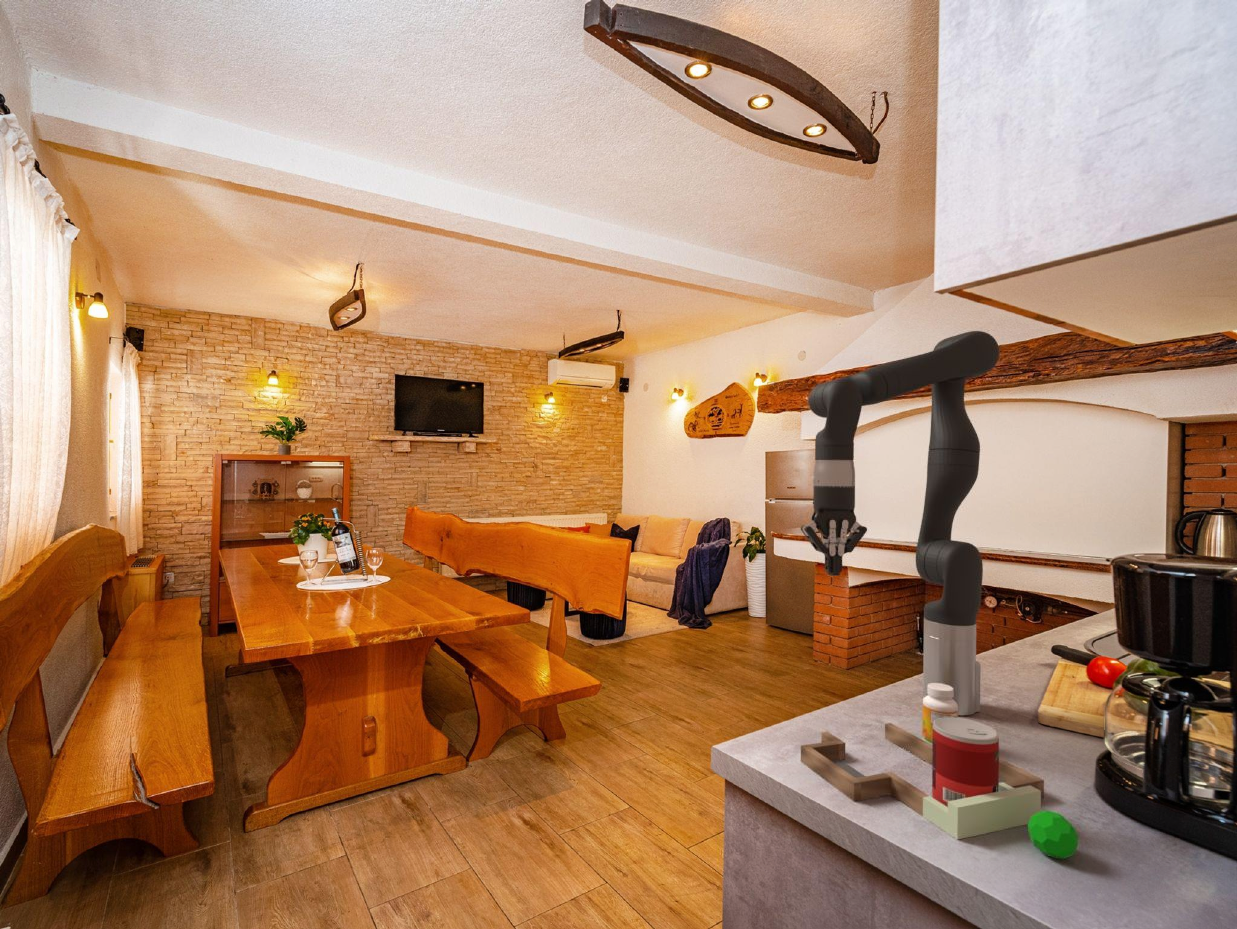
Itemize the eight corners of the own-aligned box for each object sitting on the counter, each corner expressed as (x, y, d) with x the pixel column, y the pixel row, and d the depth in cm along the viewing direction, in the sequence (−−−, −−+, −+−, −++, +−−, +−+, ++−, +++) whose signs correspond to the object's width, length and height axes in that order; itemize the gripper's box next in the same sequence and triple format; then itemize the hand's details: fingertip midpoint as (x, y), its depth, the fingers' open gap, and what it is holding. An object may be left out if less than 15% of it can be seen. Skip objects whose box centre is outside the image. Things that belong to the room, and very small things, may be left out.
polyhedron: (1068, 872, 71) (1069, 830, 71) (1021, 850, 75) (1021, 811, 75) (1084, 857, 74) (1084, 817, 74) (1037, 837, 78) (1038, 799, 78)
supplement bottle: (924, 734, 109) (924, 679, 109) (958, 741, 106) (959, 685, 106) (920, 745, 104) (921, 687, 104) (956, 753, 101) (957, 694, 101)
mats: (813, 764, 96) (813, 762, 96) (934, 745, 104) (934, 743, 104) (891, 821, 81) (891, 819, 81) (1027, 794, 88) (1027, 792, 88)
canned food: (1009, 825, 80) (1010, 741, 80) (945, 820, 81) (945, 737, 81) (982, 795, 88) (982, 718, 88) (923, 791, 89) (924, 714, 89)
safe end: (922, 816, 82) (923, 786, 82) (1002, 800, 87) (1003, 771, 87) (957, 839, 77) (957, 807, 77) (1040, 821, 81) (1040, 790, 81)
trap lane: (788, 752, 100) (788, 737, 100) (919, 733, 109) (919, 719, 109) (891, 829, 79) (891, 809, 79) (1043, 797, 87) (1043, 780, 88)
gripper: (810, 484, 112) (809, 578, 112) (877, 484, 114) (876, 578, 114) (792, 483, 119) (792, 572, 119) (855, 484, 121) (855, 571, 121)
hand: (833, 574), depth 116 cm, fingers closed
